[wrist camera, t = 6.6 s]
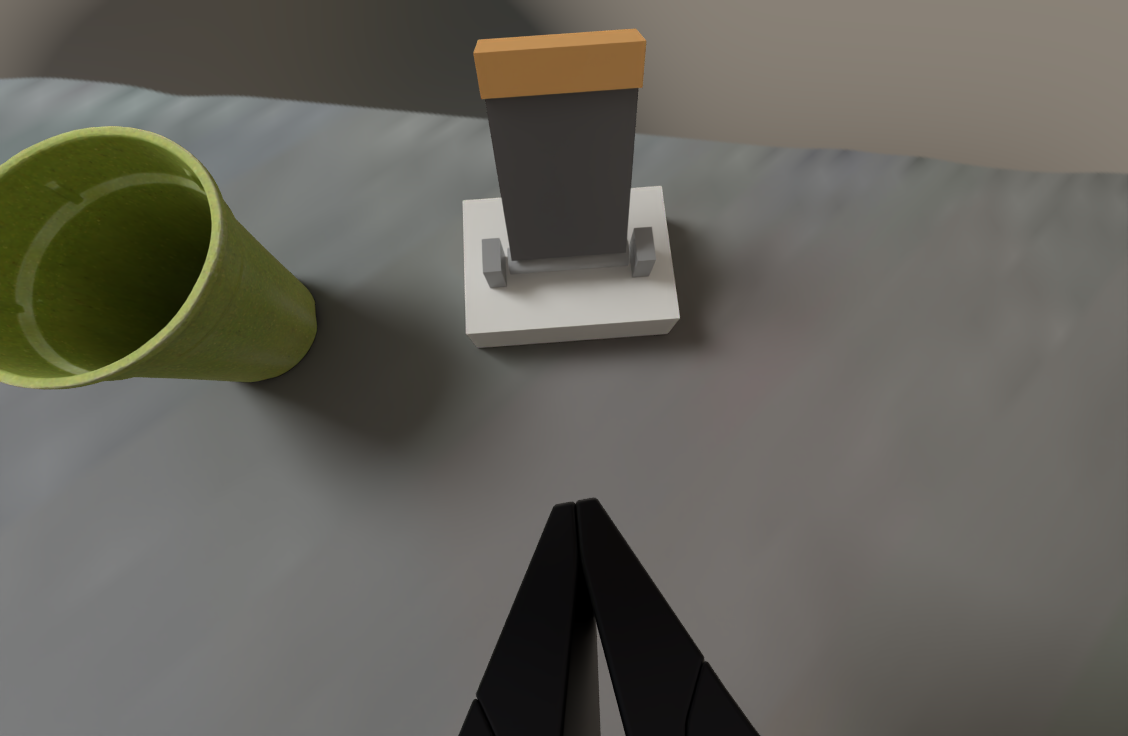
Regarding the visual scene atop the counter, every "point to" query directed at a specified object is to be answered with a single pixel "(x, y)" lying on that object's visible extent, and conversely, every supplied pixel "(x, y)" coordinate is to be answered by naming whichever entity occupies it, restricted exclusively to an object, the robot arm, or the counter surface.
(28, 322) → the plant pot
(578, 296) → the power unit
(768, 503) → the counter surface
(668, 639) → the robot arm
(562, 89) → the rocker lever
